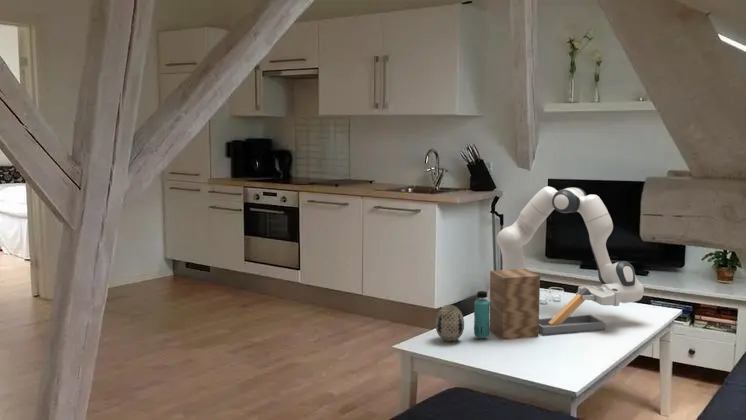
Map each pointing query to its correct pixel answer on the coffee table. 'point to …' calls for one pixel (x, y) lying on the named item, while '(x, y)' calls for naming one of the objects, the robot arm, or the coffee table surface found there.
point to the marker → (569, 308)
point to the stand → (514, 303)
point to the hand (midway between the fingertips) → (579, 296)
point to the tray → (572, 325)
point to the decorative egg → (449, 323)
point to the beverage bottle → (481, 315)
